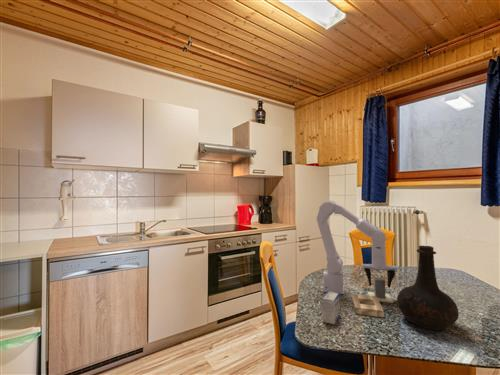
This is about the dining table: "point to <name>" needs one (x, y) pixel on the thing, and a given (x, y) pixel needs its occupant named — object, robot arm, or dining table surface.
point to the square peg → (379, 287)
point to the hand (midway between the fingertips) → (379, 286)
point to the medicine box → (330, 307)
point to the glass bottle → (427, 297)
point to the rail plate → (367, 305)
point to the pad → (387, 298)
